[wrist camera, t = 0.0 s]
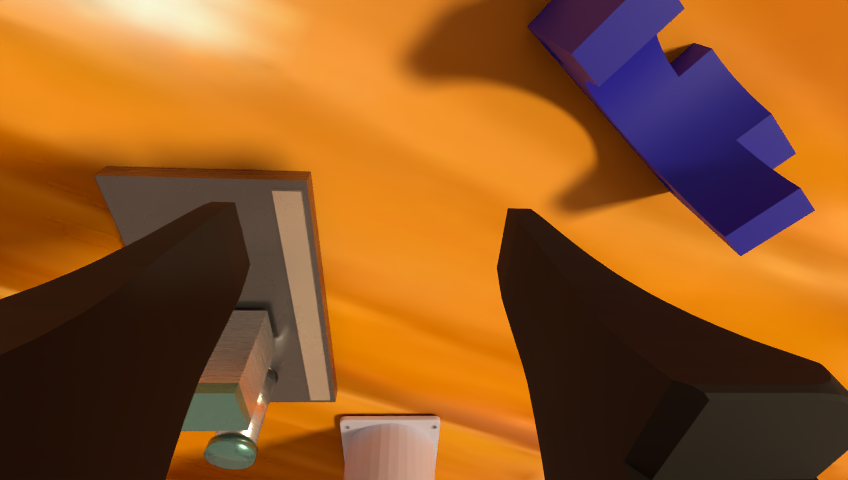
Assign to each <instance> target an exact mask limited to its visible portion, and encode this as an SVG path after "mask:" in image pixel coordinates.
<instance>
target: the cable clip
mask: <svg viewBox="0 0 848 480" xmlns="http://www.w3.org/2000/svg"><path fill="white" fill-rule="evenodd" d="M683 9H684V7H683V5H682V4H681V2H680V1H679V0H552V1H551V2H550V3H549V4H548V5H547V6H546V7H545V8H544V9H543V10H542V11H541V12H540V13H539V15H538V16H537V17H536V18H535V19H534V20H533V21H532V22H531V23H530V24H529V25H528V26H527V27H528V28H529V29H530V30H531V31H532V33H533V34H534V35H535V36H536V37H537V38H538V40H539V41H540V42H541V43H542V44H543V45H544V46H545V48H546V49H547V50H548V51H549V52H550V53H551V55H552V56H553V57H554V58H555V59H556V60H557V62H558V63H559V64H560V65H561V66H562V67H563V68H564V70H565V71H566V72H567V73H568V74H569V75H570V77H571V78H572V79H573V80H574V81H575V82H576V84H577V85H578V86H579V87H580V88H581V89H582V90H583V92H584V93H585V94H586V95H587V96H588V97H589V99H590V100H591V101H592V102H593V103H594V104H595V105H596V107H597V108H598V109H599V110H600V111H601V112H602V114H603V115H604V116H605V117H606V118H607V119H608V121H609V122H610V123H611V124H612V125H613V126H614V127H615V129H616V130H617V131H618V132H619V133H620V134H621V136H622V137H623V138H624V139H625V140H626V141H627V143H628V144H629V145H630V146H631V147H632V148H633V149H634V151H635V152H636V153H637V154H638V155H639V156H640V158H641V159H642V160H643V161H644V162H645V163H646V164H647V166H648V167H649V168H650V169H651V170H652V171H653V173H654V174H655V175H656V176H657V177H658V178H659V180H660V181H661V182H662V183H663V184H664V185H665V186H666V188H667V189H668V190H669V191H670V192H671V193H672V194H673V195H674V196H675V197H676V198H677V199H679V200H680V201H681V202H682V203H683V204H684V205H685V206H686V207H687V208H688V209H689V210H691V211H692V212H693V213H694V214H695V215H696V216H697V217H698V218H699V219H700V220H702V221H703V222H704V223H705V224H706V225H707V226H708V227H709V228H710V229H711V230H712V231H714V232H715V233H716V234H717V235H718V236H719V237H720V238H721V239H722V240H723V241H724V242H726V243H727V244H728V245H729V246H730V247H731V248H732V249H733V250H734V251H735V252H737V253H738V254H739V255H740V256H742V255H743V254H745V253H747V252H748V251H750V250H752V249H753V248H755V247H756V246H758V245H760V244H761V243H763V242H764V241H766V240H768V239H769V238H771V237H773V236H774V235H776V234H777V233H779V232H781V231H782V230H784V229H786V228H787V227H789V226H790V225H792V224H794V223H795V222H797V221H798V220H800V219H802V218H803V217H805V216H807V215H808V214H810V213H811V212H813V211H815V210H814V208H813V207H812V205H811V204H810V202H809V201H808V199H807V197H806V196H805V194H804V193H803V191H802V190H801V188H800V187H798V186H796V185H795V184H793V183H792V182H790V181H789V180H787V179H786V178H784V177H783V176H781V175H780V174H778V173H777V172H775V171H774V170H773V169H774V168H775V167H777V166H778V165H780V164H781V163H783V162H784V161H786V160H787V159H789V158H790V157H791V156H793V155H794V154H796V153H795V151H794V150H793V148H792V146H791V145H790V143H789V141H788V140H787V138H786V137H785V135H784V133H783V132H782V130H781V129H780V127H779V125H778V124H777V122H776V120H775V119H774V117H773V116H772V114H771V113H770V112H769V111H768V110H766V109H765V108H764V107H763V106H762V105H761V104H760V103H759V102H757V101H756V100H755V99H754V98H753V97H752V96H751V95H750V94H749V93H748V92H747V91H746V90H745V89H744V88H743V87H742V86H741V85H740V83H739V82H738V81H737V80H736V79H735V78H734V77H733V76H732V74H731V73H730V72H729V71H728V70H727V68H726V67H725V66H724V65H723V63H722V62H721V61H720V59H719V58H718V56H717V55H716V54H715V52H714V51H713V49H712V48H708V47H705V46H702V45H699V44H696V43H694V44H693V45H692V46H690V47H689V48H688V49H687V50H686V51H685V52H683V53H682V54H681V55H680V56H679V57H678V58H677V59H675V60H674V61H673V62H672V63H671V64H670V63H669V61H668V60H667V58H666V56H665V54H664V52H663V50H662V48H661V46H660V44H659V41H658V38H657V33H658V32H660V31H661V30H662V29H663V28H664V27H665V26H666V25H667V24H668V23H669V22H670V21H671V20H673V19H674V18H675V17H676V16H677V15H678V14H679V13H680V12H681V11H682V10H683Z"/></svg>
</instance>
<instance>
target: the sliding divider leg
mask: <svg viewBox="0 0 848 480" xmlns="http://www.w3.org/2000/svg"><path fill="white" fill-rule="evenodd" d="M275 348H276V346H275V342H274V337H273V333H272V329H271V325H270V321H269V316H268V312H267V311H246V310H233V312H232V314H231V317H230V319H229V321H228V323H227V325H226V327H225V329H224V331H223V333H222V335H221V337H220V339H219V341H218V343H217V345H216V347H215V349H214V351H213V353H212V355H211V357H210V359H209V361H208V363H207V365H206V367H205V369H204V371H203V373H202V376H201V378H200V380H199V382H198V385H197V388H196V390H195V393H194V396H193V398H192V401H191V404H190V407H189V409H188V412H187V415H186V418H185V420H184V423H183V426H182V429H181V431H248V428H249V425H250V422H251V419H252V416H253V413H254V411H255V408H256V405H257V402H258V399H259V396H260V393H261V390H262V387H263V384H264V381H265V378H266V375H267V372H268V369H269V366H270V363H271V360H272V357H273V354H274V351H275Z"/></svg>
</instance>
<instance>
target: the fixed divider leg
mask: <svg viewBox="0 0 848 480" xmlns="http://www.w3.org/2000/svg"><path fill="white" fill-rule="evenodd" d="M275 382H276V375H275V373H274V372H273V371H272V370H270V369H268V372H267V375H266V378H265V381H264V384H263V387H262V390H261V393H260V396H259V399H258V402H257V405H256V408H255V411H254V413H253V416H252V419H251V422H250V425H249V428H248V431H217V432H216V435H215V437H213V438H211V439H210V440H209V442H208V445H207V447H206V450H205V452H204V456H205V459H206V460H207V461H208V462H209V463H211V464H213V465H215V466H217V467H220V468H224V469H231V470H238V469H244V468H247V467H250V466H251V465H252V464H253V463H254V462H255V458H256V455H257V452H258V447H257V445H256V443H257V440H258V437H259V434H260V430H261V427H262V424H263V421H264V417H265V414H266V411H267V408H268V405H269V401H270V398H271V395H272V392H273V388H274V385H275Z"/></svg>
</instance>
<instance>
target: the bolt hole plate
mask: <svg viewBox="0 0 848 480" xmlns="http://www.w3.org/2000/svg"><path fill="white" fill-rule="evenodd" d="M94 177H95V179H96V181H97V183H98V186H99V188H100V190H101V192H102V194H103V197H104V199H105V201H106V203H107V206H108V208H109V210H110V212H111V214H112V217H113V219H114V221H115V223H116V226H117V228H118V230H119V232H120V235H121V237H122V239H123V241H124V243H125V246H127V245H129V244H131V243H133V242H135V241H137V240H139V239H141V238H143V237H145V236H147V235H148V234H150V233H152V232H154V231H156V230H157V229H159V228H161V227H163V226H165V225H167V224H168V223H170V222H172V221H174V220H176V219H177V218H179V217H181V216H183V215H185V214H187V213H188V212H190V211H192V210H194V209H196V208H198V207H200V206H202V205H204V204H207V203H209V202H235V205H236V209H237V213H238V217H239V221H240V225H241V229H242V233H243V237H244V241H245V245H246V249H247V253H248V257H249V261H250V267H249V270H248V274H247V277H246V281H245V284H244V287H243V290H242V293H241V296H240V298H239V300H238V302H237V304H236V306H235V308H234V310H246V311H267V312H268V316H269V321H270V325H271V329H272V333H273V337H274V342H275V346H276V348H275V351H274V354H273V357H272V360H271V363H270V366H269V369H270V370H272V371H273V372H274V373H275V375H276V382H275V385H274V388H273V392H272V395H271V398H270V401H269V402H335V401H336V395H337V383H336V375H335V367H334V359H333V351H332V342H331V334H330V326H329V318H328V310H327V302H326V293H325V285H324V277H323V269H322V261H321V252H320V244H319V236H318V228H317V220H316V212H315V203H314V195H313V187H312V179H311V172H296V171H258V170H220V169H182V168H144V167H105V168H104V169H102V170H101V171H99V172H98V173H97V174H95V175H94Z"/></svg>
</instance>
